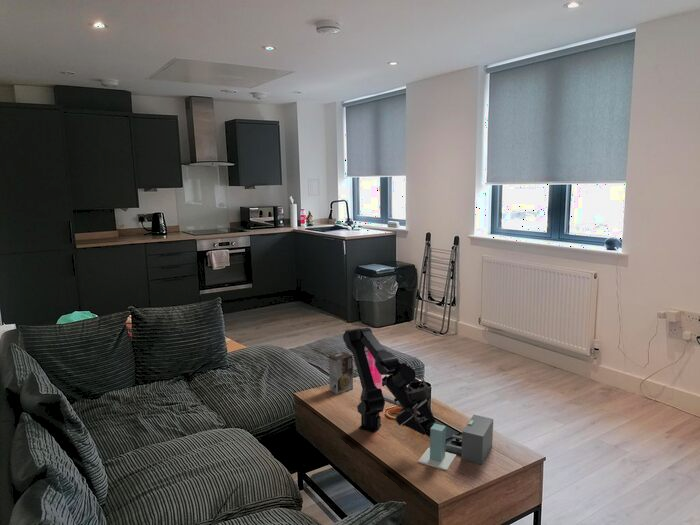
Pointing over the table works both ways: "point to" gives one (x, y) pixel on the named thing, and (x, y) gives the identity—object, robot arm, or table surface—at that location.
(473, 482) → the table surface
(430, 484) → the table surface
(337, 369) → the coffee box
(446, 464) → the mat
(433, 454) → the key block
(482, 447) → the charging dock
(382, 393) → the adjustable wrench
